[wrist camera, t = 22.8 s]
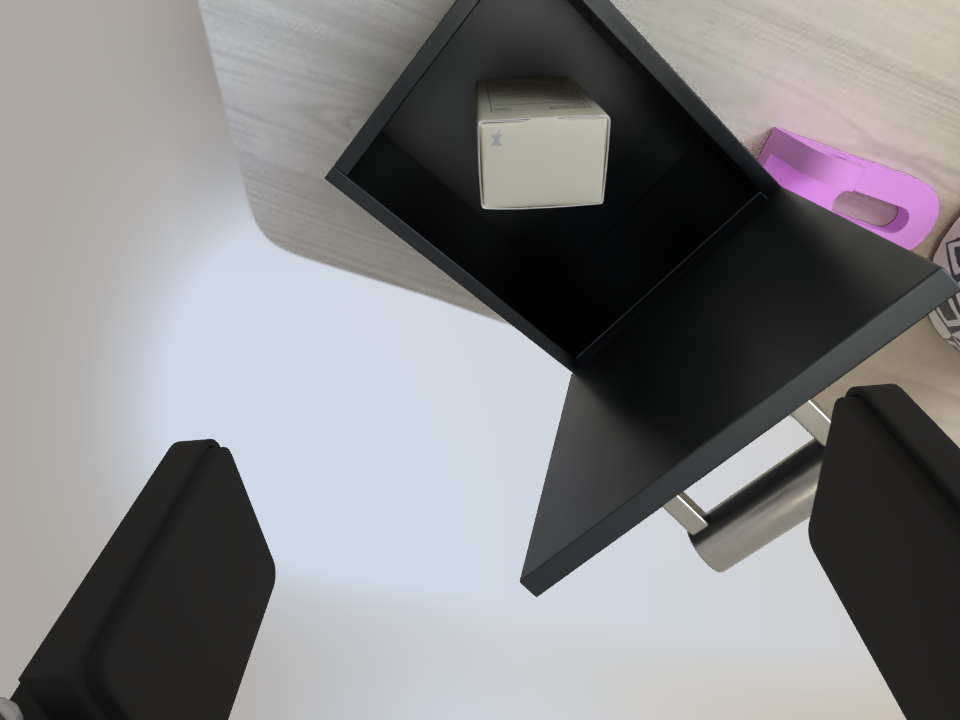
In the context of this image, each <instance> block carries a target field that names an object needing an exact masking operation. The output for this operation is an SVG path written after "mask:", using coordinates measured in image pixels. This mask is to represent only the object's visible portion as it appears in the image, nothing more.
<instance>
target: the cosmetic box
mask: <svg viewBox="0 0 960 720" xmlns="http://www.w3.org/2000/svg"><path fill="white" fill-rule="evenodd" d="M610 123H611V120H610V117H609V116H608V115H607V114H606V113H605V112H604V110H602V109H601V107H600V106H599V105H598V104H597V103H596V102H595V101H594V100H593V99H592V98H591V97H590V96H589V95H588V94H587V93H586V92H585V91H584V89H583V88H582V87H581V86H580V85H579V84H578V83H577V82H576V81H575V80H574V79H573V78H572V77H535V78H515V79H499V80H487V81H478V82H476V135H477V154H478V171H479V185H480V198H481V206H482V208H484V209H535V208H556V207H571V206H584V205H595V204H602V203H603V200H604V190H605V181H606V172H607V162H608V150H609V137H610Z"/></svg>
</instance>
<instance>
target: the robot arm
mask: <svg viewBox="0 0 960 720" xmlns="http://www.w3.org/2000/svg"><path fill="white" fill-rule="evenodd" d="M808 532H809V539H810V543H811V547H812V549H813V551H814V553H815V554H816V557H817V558H818V560H819V562H820V564H821V566H822V567H823V569H824V571H825V573H826V575H827V576H828V578H829V580H830V582H831V584H832V586H833V587H834V589H835V591H836V593H837V595H838V596H839V598H840V600H841V602H842V604H843V605H844V607H845V609H846V611H847V613H848V614H849V616H850V618H851V620H852V621H853V624H854V625H855V627H856V629H857V631H858V632H859V634H860V636H861V638H862V640H863V642H864V643H865V645H866V647H867V649H868V651H869V652H870V654H871V656H872V658H873V660H874V661H875V663H876V665H877V667H878V668H879V671H880V672H881V674H882V676H883V678H884V680H885V681H886V683H887V685H888V687H889V689H890V690H891V692H892V694H893V696H894V698H895V699H896V701H897V703H898V705H899V707H900V708H901V710H902V712H903V714H904V716H905V717H906V719H907V720H960V448H959V447H958V446H957V445H956V444H955V443H954V442H953V441H952V440H951V439H950V438H949V437H948V436H947V435H946V434H945V433H944V432H943V431H942V430H941V429H940V427H939V426H938V425H937V424H936V423H935V422H934V421H933V420H932V419H931V418H930V417H929V416H928V415H927V414H926V413H925V412H924V411H923V410H922V409H921V408H920V407H919V406H918V405H917V404H916V403H915V402H914V401H913V400H912V399H911V398H910V397H909V396H908V395H907V393H906V392H905V391H904V390H903V389H902V388H900V387H899V386H898V385H895V384H882V385H869V386H857V387H852V388H850V389H849V390H848V392H847V394H846V396H845V397H841V398H839V399H837V401H836V402H835V405H834V409H833V413H832V418H831V423H830V427H829V432H828V437H827V442H826V446H825V451H824V456H823V460H822V465H821V470H820V474H819V479H818V484H817V489H816V493H815V498H814V503H813V507H812V512H811V517H810V522H809V528H808ZM274 583H275V565H274V561H273V558H272V556H271V553H270V551H269V548H268V546H267V543H266V540H265V538H264V535H263V533H262V530H261V528H260V525H259V523H258V520H257V518H256V515H255V512H254V510H253V507H252V505H251V502H250V500H249V497H248V495H247V492H246V489H245V487H244V484H243V482H242V480H241V477H240V474H239V472H238V469H237V467H236V464H235V462H234V459H233V457H232V454H231V452H230V451H229V449H228V448H226V447H220V446H219V444H218V443H217V442H216V441H215V440H213V439H206V440H193V441H180V442H176V443H174V444H173V445H172V446H171V447H170V448H169V450H168V452H167V453H166V455H165V456H164V458H163V459H162V461H161V462H160V464H159V465H158V467H157V468H156V470H155V471H154V473H153V474H152V476H151V477H150V479H149V480H148V482H147V484H146V485H145V487H144V488H143V490H142V491H141V493H140V494H139V496H138V497H137V499H136V500H135V502H134V503H133V505H132V506H131V508H130V510H129V511H128V513H127V514H126V516H125V517H124V519H123V520H122V522H121V523H120V525H119V526H118V528H117V529H116V531H115V532H114V534H113V535H112V537H111V538H110V540H109V541H108V543H107V545H106V546H105V548H104V549H103V551H102V552H101V554H100V555H99V557H98V558H97V560H96V561H95V563H94V564H93V566H92V568H91V569H90V571H89V572H88V574H87V575H86V577H85V578H84V580H83V581H82V583H81V584H80V586H79V588H78V589H77V590H76V592H75V593H74V595H73V597H72V598H71V600H70V601H69V603H68V604H67V606H66V607H65V609H64V610H63V612H62V613H61V615H60V616H59V618H58V619H57V621H56V622H55V624H54V626H53V627H52V629H51V630H50V632H49V633H48V635H47V636H46V638H45V639H44V641H43V642H42V644H41V645H40V647H39V648H38V650H37V651H36V653H35V654H34V656H33V658H32V659H31V661H30V662H29V664H28V665H27V667H26V668H25V670H24V671H23V673H22V674H21V676H20V677H19V679H18V680H19V681H20V685H19V686H18V688H17V689H16V691H15V692H14V694H13V696H12V697H11V698H10V700H8V699H6V698H3V697H0V720H228V718H229V715H230V712H231V710H232V706H233V704H234V701H235V698H236V695H237V692H238V689H239V686H240V683H241V680H242V677H243V675H244V672H245V669H246V665H247V663H248V660H249V657H250V654H251V651H252V648H253V645H254V643H255V640H256V637H257V634H258V631H259V628H260V625H261V622H262V619H263V616H264V613H265V610H266V608H267V604H268V602H269V599H270V596H271V593H272V590H273V587H274Z"/></svg>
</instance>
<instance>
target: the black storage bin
mask: <svg viewBox="0 0 960 720" xmlns="http://www.w3.org/2000/svg"><path fill="white" fill-rule="evenodd" d="M535 77H572V78H573V79H574V80H575V81H576V82H577V83H578V84H579V85H580V86H581V87H582V88H583V89H584V91H585V92H586V93H587V94H588V95H589V96H590V97H591V98H592V99H593V100H594V101H595V102H596V103H597V104H598V105H599V106H600V107H601V109H602V110H604V112H605V113H606V114H607V115H608V116H609V117H610V120H611V123H610V137H609V150H608V162H607V172H606V181H605V190H604V200H603V203H602V204H595V205H584V206H571V207H556V208H535V209H484V208H482V206H481V198H480V185H479V171H478V154H477V135H476V82H478V81H487V80H499V79H515V78H535ZM325 179H326V180H327V181H329V182H330V183H331V184H333V185H334V186H335V187H336V188H338V189H339V190H340V191H342V192H343V193H344V194H345V195H347V196H348V197H349V198H350V199H352V200H353V201H354V202H356V203H357V204H358V205H359V206H361V207H362V208H363V209H364V210H366V211H367V212H368V213H370V214H371V215H372V216H373V217H375V218H376V219H377V220H379V221H380V222H381V223H382V224H384V225H385V226H386V227H387V228H389V229H390V230H391V231H393V232H394V233H395V234H396V235H398V236H399V237H400V238H401V239H403V240H404V241H405V242H407V243H408V244H409V245H410V246H412V247H413V248H414V249H416V250H417V251H418V252H419V253H421V254H422V255H423V256H424V257H426V258H427V259H428V260H430V261H431V262H432V263H433V264H435V265H436V266H437V267H438V268H440V269H441V270H442V271H444V272H445V273H446V274H447V275H449V276H450V277H451V278H453V279H454V280H455V281H456V282H458V283H459V284H460V285H461V286H463V287H464V288H465V289H467V290H468V291H469V292H470V293H472V294H473V295H474V296H475V297H477V298H478V299H479V300H481V301H482V302H483V303H484V304H486V305H487V306H488V307H490V308H491V309H492V310H493V311H495V312H496V313H497V314H498V315H500V316H501V317H502V318H504V319H505V320H506V321H507V322H509V323H510V324H511V325H512V326H514V327H515V328H516V329H518V330H519V331H520V332H522V333H523V334H524V335H525V336H527V337H528V338H529V339H530V340H532V341H533V342H534V343H536V344H537V345H538V346H539V347H541V348H542V349H543V350H545V351H546V352H547V353H548V354H549V355H551V356H552V357H553V358H555V359H556V360H557V361H558V362H560V363H561V364H562V365H564V366H565V367H566V368H567V369H569V370H570V371H571V372H572V373H574V372H575V371H576V370H577V369H578V368H579V367H580V366H581V365H583V364H584V363H585V362H586V361H587V360H588V359H589V358H590V357H592V356H593V355H594V354H595V353H596V352H597V351H598V350H599V349H601V348H602V347H603V346H604V345H605V344H606V343H607V342H608V341H609V340H611V339H612V338H613V337H614V336H615V335H616V334H617V333H618V332H620V331H621V330H622V329H623V328H624V327H625V326H626V325H627V324H629V323H630V322H631V321H632V320H633V319H634V318H635V317H636V316H637V315H639V314H640V313H641V312H642V311H643V310H644V309H645V308H646V307H648V306H649V305H650V304H651V303H652V302H653V301H654V300H655V299H657V298H658V297H659V296H660V295H661V294H662V293H663V292H664V291H665V290H667V289H668V288H669V287H670V286H671V285H672V284H673V283H674V282H676V281H677V280H678V279H679V278H680V277H681V276H682V275H683V274H685V273H686V272H687V271H688V270H689V269H690V268H691V267H692V266H693V265H695V264H696V263H697V262H698V261H699V260H700V259H701V258H702V257H704V256H705V255H706V254H707V253H708V252H709V251H710V250H711V249H713V248H714V247H715V246H716V245H717V244H718V243H719V242H720V241H722V240H723V239H724V238H725V237H726V236H727V235H728V234H729V233H730V232H732V231H733V230H734V229H735V228H736V227H737V226H738V225H739V224H741V223H742V222H743V221H744V220H745V219H746V218H747V217H748V216H750V215H751V214H752V213H753V212H754V211H755V210H756V209H757V208H758V207H760V206H761V205H762V204H763V203H764V202H765V201H766V200H767V199H769V198H770V197H771V196H772V195H773V194H774V193H775V192H776V191H778V190H779V189H780V188H781V187H782V186H781V185H780V184H779V183H778V182H777V181H776V180H775V179H774V178H773V177H772V176H771V175H770V174H769V172H768V171H767V170H766V169H765V168H764V167H763V166H762V165H761V164H760V163H759V162H758V161H757V159H756V158H755V157H754V156H753V155H752V154H751V153H750V152H749V151H748V150H747V149H746V148H745V146H744V145H743V144H742V143H741V142H740V141H739V140H738V139H737V138H736V137H735V136H734V135H733V134H732V132H731V131H730V130H729V129H728V128H727V127H726V126H725V125H724V124H723V123H722V122H721V121H720V119H719V118H718V117H717V116H716V115H715V114H714V113H713V112H712V111H711V110H710V109H709V108H708V107H707V105H706V104H705V103H704V102H703V101H702V100H701V99H700V98H699V97H698V96H697V95H696V94H695V92H694V91H693V90H692V89H691V88H690V87H689V86H688V85H687V84H686V83H685V82H684V81H683V79H682V78H681V77H680V76H679V75H678V74H677V73H676V72H675V71H674V70H673V69H672V68H671V67H670V65H669V64H668V63H667V62H666V61H665V60H664V59H663V58H662V57H661V56H660V55H659V54H658V52H657V51H656V50H655V49H654V48H653V47H652V46H651V45H650V44H649V43H648V42H647V41H646V39H645V38H644V37H643V36H642V35H641V34H640V33H639V32H638V31H637V30H636V29H635V28H634V27H633V25H632V24H631V23H630V22H629V21H628V20H627V19H626V18H625V17H624V16H623V15H622V14H621V12H620V11H619V10H618V9H617V8H616V7H615V6H614V5H613V4H612V3H611V2H610V1H609V0H456V1H455V3H454V4H453V5H452V7H451V8H450V9H449V11H448V12H447V13H446V15H445V16H444V18H443V19H442V20H441V22H440V23H439V24H438V26H437V27H436V28H435V30H434V31H433V32H432V34H431V35H430V36H429V38H428V39H427V40H426V42H425V43H424V45H423V46H422V47H421V49H420V50H419V51H418V53H417V54H416V55H415V57H414V58H413V59H412V61H411V62H410V63H409V65H408V66H407V67H406V69H405V70H404V72H403V73H402V74H401V76H400V77H399V78H398V80H397V81H396V82H395V84H394V85H393V86H392V88H391V89H390V90H389V92H388V93H387V94H386V96H385V97H384V99H383V100H382V101H381V103H380V104H379V105H378V107H377V108H376V109H375V111H374V112H373V113H372V115H371V116H370V117H369V119H368V120H367V121H366V123H365V124H364V126H363V127H362V128H361V130H360V131H359V132H358V134H357V135H356V136H355V138H354V139H353V140H352V142H351V143H350V144H349V146H348V147H347V148H346V150H345V151H344V153H343V154H342V155H341V157H340V158H339V159H338V161H337V162H336V163H335V165H334V166H333V167H332V169H331V170H330V171H329V173H328V174H327V175H326V177H325Z"/></svg>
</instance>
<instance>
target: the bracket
mask: <svg viewBox="0 0 960 720" xmlns="http://www.w3.org/2000/svg"><path fill="white" fill-rule="evenodd" d="M757 161H758V162H759V163H760V164H761V165H762V166H763V167H764V168H765V169H766V170H767V171H768V172H769V174H770V175H771V176H772V177H773V178H774V179H775V180H776V181H777V182H778V183H779V184H780V185H781V186H782V187H784V188H786V189H788V190H790V191H792V192H794V193H796V194H798V195H800V196H802V197H804V198H806V199H808V200H810V201H812V202H814V203H816V204H818V205H820V206H822V207H824V208H826V209H828V210H830V211H832V212H833V210H832V205H833V202H834V200H835V198H836V197H837V196H838V195H839V194H841V193H842V192H844V191H849V192H853V190H854V191H857V192H860V193H863V194H866V195H868V196H871V197H874V198H877V199H880V200H883V201H886V202H888V203H891V204H894V205H897V206H898V214H897V216H896V218H895V219H894V220H893V221H892V222H891V223H890V224H888V225H886V226H882V227H878V226H874V225H871V224H869V223H866V222H863V221H860V220H857V219H854V218H851V217H848V216H845V215H842V214H839V213H836V212H834V213H836V214H838V215H840V216H842V217H844V218H846V219H848V220H850V221H852V222H854V223H856V224H858V225H860V226H862V227H864V228H866V229H868V230H870V231H872V232H874V233H876V234H878V235H880V236H882V237H884V238H886V239H888V240H890V241H892V242H894V243H896V244H898V245H900V246H902V247H904V248H906V249H908V250H910V251H911V250H912V249H914V248H915V247H916V246H918V245H919V244H920V243H921V242H922V241H923V240H924V239H925V238H926V237H927V236H928V235H929V233H930V232H931V230H932V229H933V227H934V225H935V223H936V220H937V217H938V213H939V201H938V197H937V195H936V193H935V191H934V190H933V189H932V188H931V187H930V186H929V185H928V184H926V183H924V182H922V181H920V180H918V179H916V178H914V177H912V176H910V175H907V174H904V173H902V172H899V171H896V170H893V169H890V168H888V167H885V166H882V165H879V164H877V163H874V162H871V161H868V160H865V159H863V158H860V157H857V156H854V155H852V154H849V153H846V152H843V151H840V150H838V149H835V148H832V147H829V146H826V145H824V144H821V143H818V142H815V141H813V140H810V139H807V138H804V137H801V136H799V135H796V134H793V133H790V132H787V131H785V130H782V129H779V128H776V127H774V129H773V131H772V132H771V134H770V136H769V138H768V140H767V142H766V144H765V146H764V147H763V149H762V151H761V153H760V155H759V157H758V159H757Z"/></svg>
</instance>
